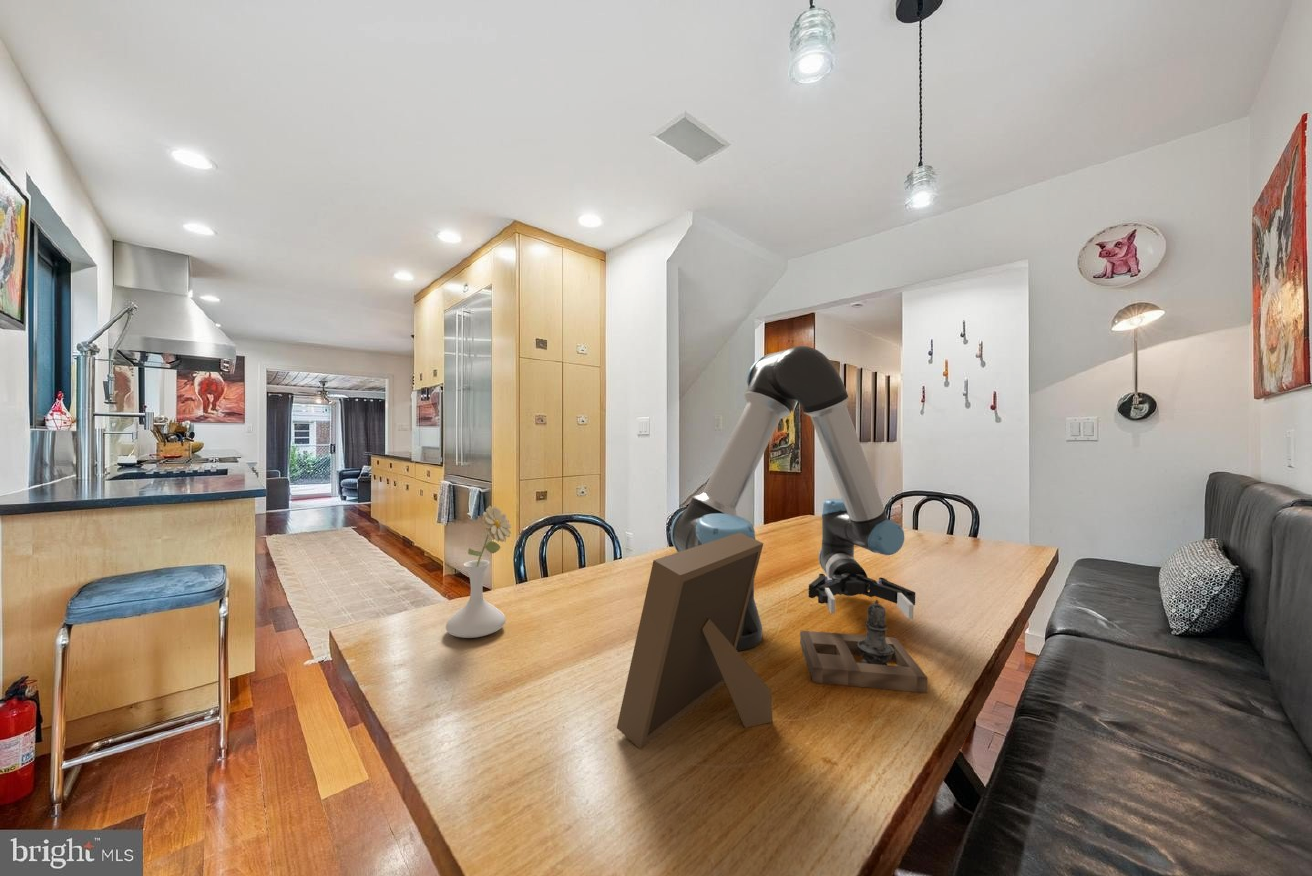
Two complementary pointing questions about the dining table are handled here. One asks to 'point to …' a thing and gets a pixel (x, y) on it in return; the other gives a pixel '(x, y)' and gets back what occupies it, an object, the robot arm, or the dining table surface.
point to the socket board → (838, 666)
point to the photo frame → (693, 639)
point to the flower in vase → (481, 585)
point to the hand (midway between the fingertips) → (871, 609)
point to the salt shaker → (875, 638)
